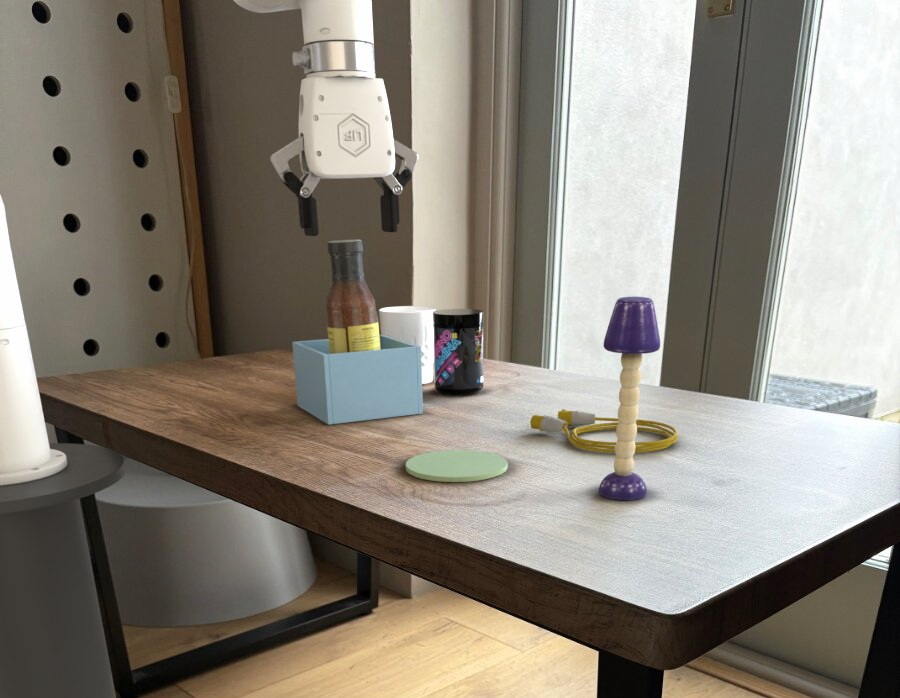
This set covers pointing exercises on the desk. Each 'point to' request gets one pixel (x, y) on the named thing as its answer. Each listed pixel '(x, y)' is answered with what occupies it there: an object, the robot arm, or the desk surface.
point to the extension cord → (586, 418)
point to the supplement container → (458, 351)
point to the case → (358, 381)
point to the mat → (456, 465)
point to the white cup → (412, 331)
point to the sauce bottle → (350, 301)
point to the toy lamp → (629, 388)
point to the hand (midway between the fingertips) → (351, 233)
